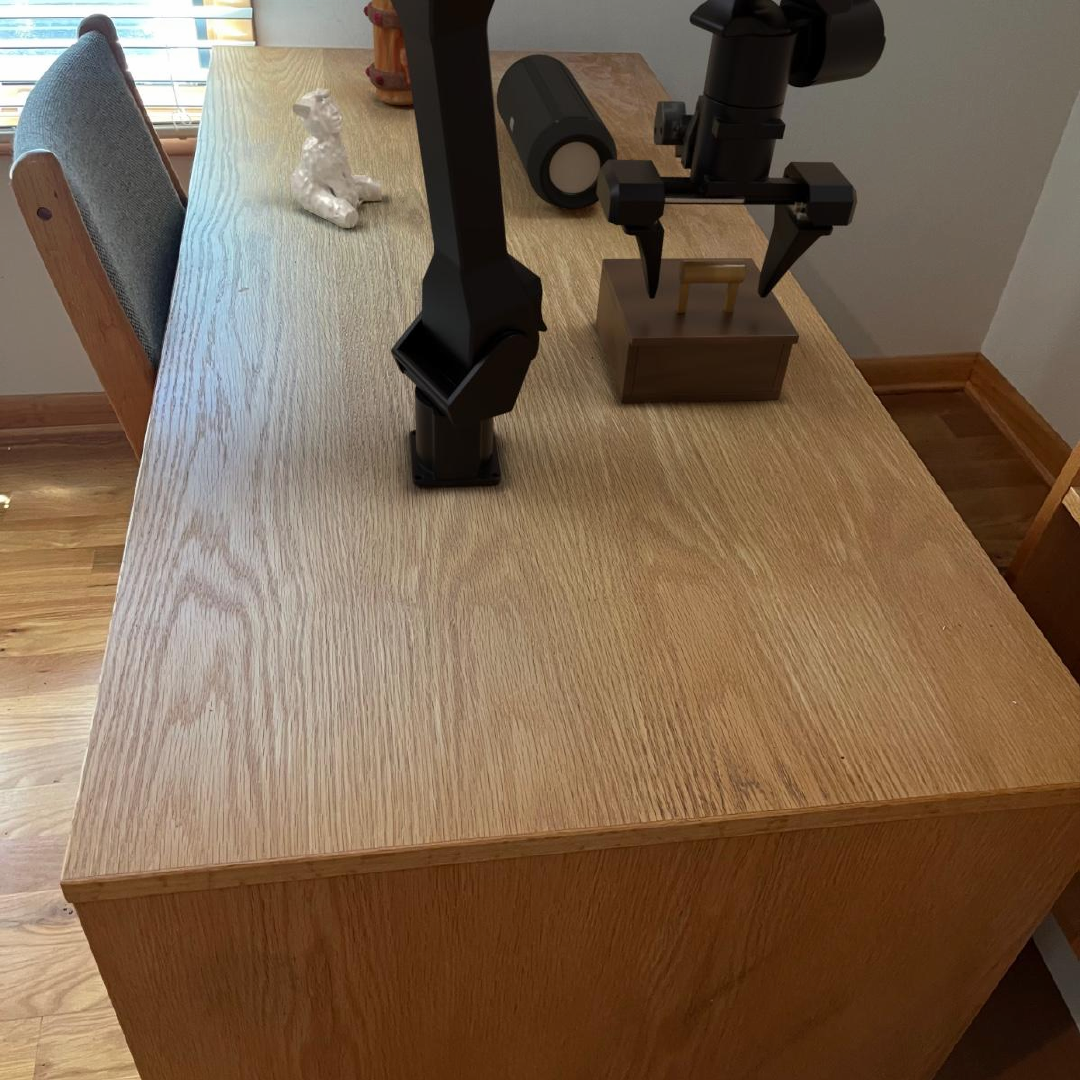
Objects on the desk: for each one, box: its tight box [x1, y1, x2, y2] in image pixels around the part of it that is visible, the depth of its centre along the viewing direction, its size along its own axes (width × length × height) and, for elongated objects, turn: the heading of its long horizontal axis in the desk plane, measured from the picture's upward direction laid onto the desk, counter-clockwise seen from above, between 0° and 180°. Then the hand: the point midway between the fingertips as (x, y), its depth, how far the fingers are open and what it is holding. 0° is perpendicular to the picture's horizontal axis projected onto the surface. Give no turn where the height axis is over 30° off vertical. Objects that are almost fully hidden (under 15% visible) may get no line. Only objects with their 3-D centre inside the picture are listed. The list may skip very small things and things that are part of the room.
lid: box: [601, 257, 800, 346], centre depth 84 cm, size 13×14×5 cm
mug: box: [363, 0, 413, 106], centre depth 128 cm, size 15×8×15 cm, turn 25°
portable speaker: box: [496, 53, 618, 211], centre depth 117 cm, size 26×10×10 cm, turn 11°
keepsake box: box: [595, 267, 794, 404], centre depth 88 cm, size 13×14×6 cm
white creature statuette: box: [290, 87, 383, 229], centre depth 105 cm, size 10×9×12 cm
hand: (706, 295), depth 82 cm, fingers open, 9 cm apart
